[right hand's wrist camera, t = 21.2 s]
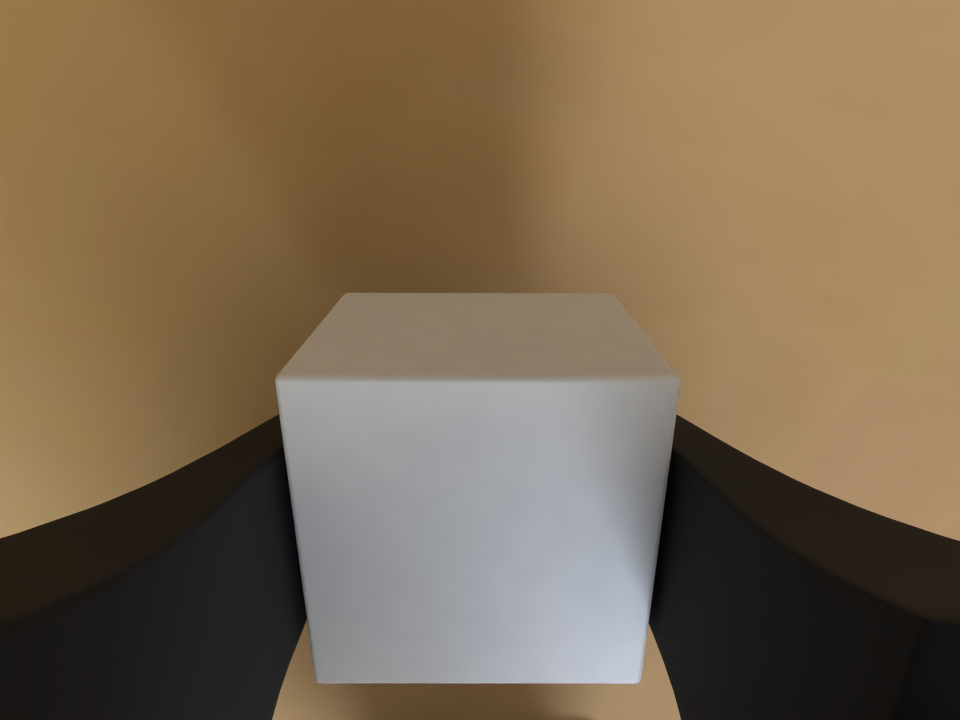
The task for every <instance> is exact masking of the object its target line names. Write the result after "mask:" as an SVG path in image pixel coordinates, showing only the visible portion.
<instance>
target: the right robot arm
mask: <svg viewBox="0 0 960 720" xmlns="http://www.w3.org/2000/svg"><path fill="white" fill-rule="evenodd" d="M306 620H307V616H306V608H305V601H304V594H303V586H302V579H301V571H300V564H299V557H298V549H297V542H296V534H295V527H294V519H293V512H292V505H291V497H290V490H289V482H288V475H287V468H286V460H285V453H284V445H283V438H282V431H281V423H280V416H279V414H278V415H277V416H275V417H273V418H271V419H269V420H268V421H266V422H264V423H263V424H261V425H259V426H257V427H256V428H254V429H252V430H250V431H249V432H247V433H245V434H243V435H242V436H240V437H238V438H236V439H235V440H233V441H231V442H229V443H228V444H226V445H224V446H222V447H221V448H219V449H217V450H215V451H213V452H211V453H209V454H207V455H205V456H203V457H202V458H200V459H198V460H196V461H194V462H192V463H190V464H188V465H186V466H184V467H182V468H180V469H179V470H177V471H175V472H173V473H171V474H169V475H167V476H165V477H162V478H160V479H158V480H156V481H154V482H152V483H150V484H147V485H145V486H143V487H141V488H138V489H136V490H134V491H131V492H129V493H126V494H124V495H122V496H119V497H117V498H114V499H112V500H110V501H107V502H105V503H102V504H100V505H97V506H95V507H92V508H89V509H86V510H84V511H81V512H78V513H75V514H72V515H69V516H66V517H63V518H60V519H57V520H55V521H52V522H49V523H46V524H43V525H40V526H37V527H34V528H31V529H29V530H26V531H23V532H20V533H17V534H14V535H10V536H7V537H4V538H0V720H272V717H273V714H274V710H275V707H276V703H277V699H278V696H279V692H280V689H281V686H282V683H283V681H284V678H285V675H286V672H287V669H288V666H289V663H290V661H291V658H292V655H293V653H294V650H295V648H296V645H297V643H298V640H299V638H300V635H301V633H302V630H303V627H304V625H305V622H306ZM649 624H650V627H651V630H652V632H653V635H654V638H655V640H656V643H657V645H658V648H659V651H660V653H661V656H662V658H663V661H664V664H665V667H666V670H667V673H668V676H669V679H670V682H671V685H672V688H673V691H674V694H675V698H676V702H677V705H678V709H679V713H680V716H681V720H960V541H957V540H954V539H951V538H947V537H944V536H941V535H938V534H935V533H932V532H929V531H926V530H923V529H920V528H917V527H914V526H911V525H908V524H905V523H902V522H899V521H896V520H893V519H890V518H887V517H884V516H882V515H879V514H876V513H874V512H871V511H868V510H865V509H863V508H860V507H858V506H855V505H853V504H850V503H848V502H845V501H843V500H841V499H838V498H836V497H833V496H831V495H829V494H826V493H824V492H822V491H819V490H817V489H814V488H812V487H810V486H808V485H806V484H803V483H801V482H799V481H797V480H795V479H793V478H790V477H789V476H787V475H785V474H783V473H781V472H779V471H777V470H775V469H773V468H771V467H769V466H767V465H765V464H763V463H761V462H759V461H757V460H755V459H753V458H751V457H750V456H748V455H746V454H744V453H742V452H740V451H739V450H737V449H735V448H733V447H731V446H730V445H728V444H726V443H724V442H723V441H721V440H719V439H718V438H716V437H714V436H712V435H711V434H709V433H707V432H706V431H704V430H702V429H700V428H699V427H697V426H695V425H694V424H692V423H690V422H689V421H687V420H685V419H683V418H682V417H680V416H678V415H676V421H675V428H674V436H673V443H672V451H671V458H670V466H669V473H668V481H667V488H666V496H665V503H664V511H663V518H662V526H661V533H660V541H659V548H658V556H657V564H656V571H655V579H654V586H653V594H652V601H651V609H650V616H649Z"/></svg>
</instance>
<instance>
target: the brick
mask: <svg viewBox="0 0 960 720" xmlns="http://www.w3.org/2000/svg"><path fill="white" fill-rule="evenodd" d="M680 383H681V380H680V377H679V375H678V374H677V373H676V372H675V370H674V369H673V368H672V367H671V365H670V364H669V363H668V362H667V360H666V359H665V358H664V357H663V356H662V354H661V353H660V352H659V351H658V349H657V348H656V347H655V346H654V344H653V343H652V342H651V341H650V339H649V338H648V337H647V336H646V334H645V333H644V332H643V331H642V329H641V328H640V327H639V326H638V324H637V323H636V322H635V321H634V319H633V318H632V317H631V316H630V314H629V313H628V312H627V311H626V310H625V308H624V307H623V306H622V305H621V303H620V302H619V301H618V300H617V298H616V297H615V296H614V295H613V294H611V293H346V294H344V295H343V296H342V297H341V298H340V300H339V301H338V302H337V303H336V305H335V306H334V307H333V308H332V309H331V311H330V312H329V313H328V314H327V315H326V317H325V318H324V319H323V320H322V321H321V323H320V324H319V325H318V326H317V327H316V329H315V330H314V331H313V332H312V334H311V335H310V336H309V337H308V338H307V340H306V341H305V342H304V343H303V344H302V346H301V347H300V348H299V349H298V350H297V352H296V353H295V354H294V355H293V356H292V358H291V359H290V360H289V361H288V363H287V364H286V365H285V366H284V367H283V369H282V370H281V371H280V372H279V373H278V375H277V376H276V378H275V386H276V393H277V401H278V408H279V416H280V423H281V431H282V438H283V445H284V453H285V460H286V468H287V475H288V482H289V490H290V497H291V505H292V512H293V519H294V527H295V534H296V542H297V549H298V557H299V564H300V571H301V579H302V586H303V594H304V601H305V608H306V616H307V623H308V631H309V638H310V646H311V653H312V660H313V668H314V675H315V680H316V682H318V683H615V684H636V683H639V682H640V681H641V676H642V669H643V661H644V654H645V646H646V639H647V631H648V624H649V616H650V609H651V601H652V594H653V586H654V579H655V571H656V564H657V556H658V548H659V541H660V533H661V526H662V518H663V511H664V503H665V496H666V488H667V481H668V473H669V466H670V458H671V451H672V443H673V436H674V428H675V421H676V413H677V406H678V398H679V391H680Z"/></svg>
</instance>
